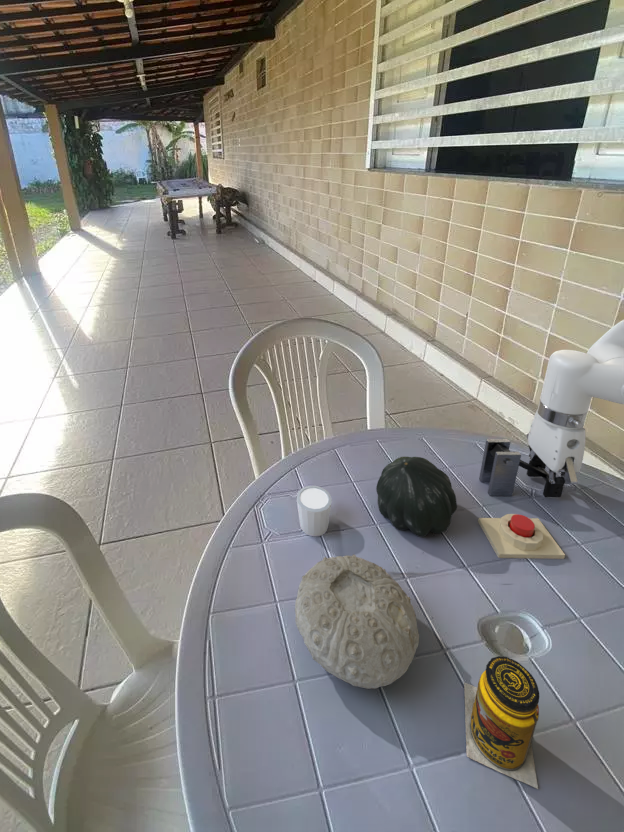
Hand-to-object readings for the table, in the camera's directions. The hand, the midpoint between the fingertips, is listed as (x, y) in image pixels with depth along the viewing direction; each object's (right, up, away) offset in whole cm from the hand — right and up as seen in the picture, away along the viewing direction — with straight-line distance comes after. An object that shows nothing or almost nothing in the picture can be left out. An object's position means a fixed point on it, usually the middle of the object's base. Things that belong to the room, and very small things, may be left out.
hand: (542, 485), depth 89 cm
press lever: (-6, +4, -1) cm, 7 cm away
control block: (-12, -7, -10) cm, 17 cm away
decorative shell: (-46, -14, -23) cm, 54 cm away
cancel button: (-12, -3, -12) cm, 17 cm away
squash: (-29, -5, -3) cm, 29 cm away
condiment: (-31, -18, -35) cm, 50 cm away
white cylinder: (-49, -7, -4) cm, 49 cm away
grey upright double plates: (-9, -2, +1) cm, 10 cm away
